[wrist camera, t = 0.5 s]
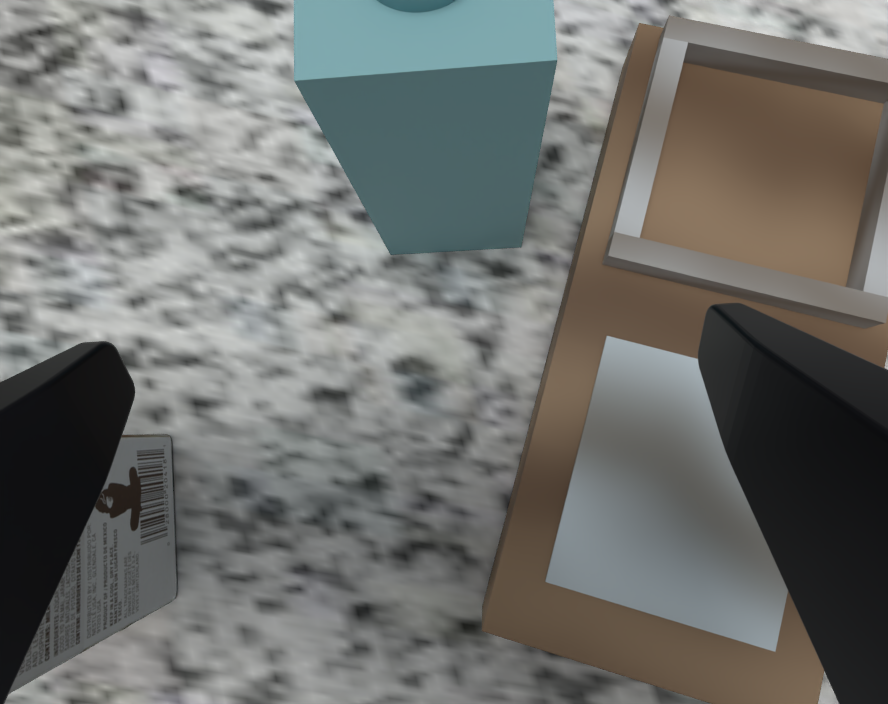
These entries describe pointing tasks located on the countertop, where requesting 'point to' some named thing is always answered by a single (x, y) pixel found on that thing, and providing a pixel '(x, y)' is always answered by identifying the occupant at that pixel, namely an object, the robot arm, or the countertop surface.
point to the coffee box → (114, 559)
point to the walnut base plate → (691, 358)
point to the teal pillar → (432, 111)
